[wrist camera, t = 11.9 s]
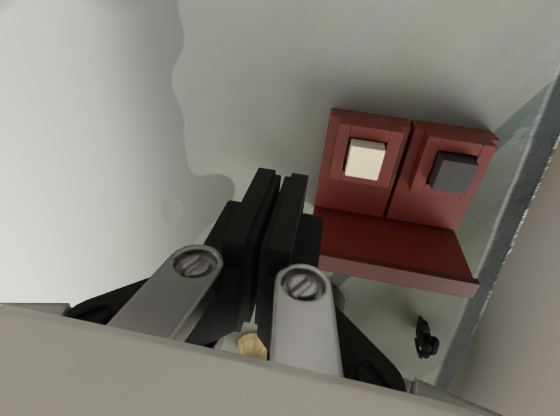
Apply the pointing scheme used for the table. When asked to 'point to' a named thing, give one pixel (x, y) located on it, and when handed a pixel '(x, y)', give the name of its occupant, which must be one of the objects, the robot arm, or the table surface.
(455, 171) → the ebony key
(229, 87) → the table surface
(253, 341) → the hand bell
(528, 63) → the table surface
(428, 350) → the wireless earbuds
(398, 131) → the red white-inset block
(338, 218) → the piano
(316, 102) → the table surface
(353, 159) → the ivory key
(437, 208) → the red grey-inset block
